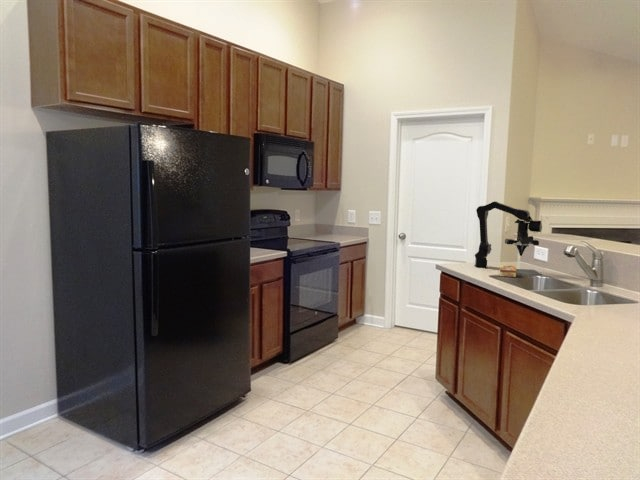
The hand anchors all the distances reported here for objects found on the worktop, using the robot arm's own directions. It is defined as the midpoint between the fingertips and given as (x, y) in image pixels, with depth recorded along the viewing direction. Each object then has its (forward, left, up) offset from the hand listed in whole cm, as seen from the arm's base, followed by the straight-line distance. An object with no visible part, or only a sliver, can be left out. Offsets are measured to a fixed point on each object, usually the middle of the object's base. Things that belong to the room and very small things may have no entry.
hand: (520, 255), depth 290 cm
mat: (+3, 0, -10) cm, 11 cm away
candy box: (-8, -2, -8) cm, 11 cm away
